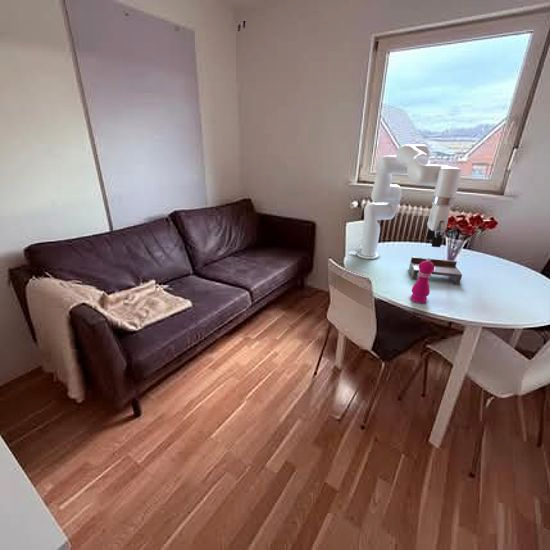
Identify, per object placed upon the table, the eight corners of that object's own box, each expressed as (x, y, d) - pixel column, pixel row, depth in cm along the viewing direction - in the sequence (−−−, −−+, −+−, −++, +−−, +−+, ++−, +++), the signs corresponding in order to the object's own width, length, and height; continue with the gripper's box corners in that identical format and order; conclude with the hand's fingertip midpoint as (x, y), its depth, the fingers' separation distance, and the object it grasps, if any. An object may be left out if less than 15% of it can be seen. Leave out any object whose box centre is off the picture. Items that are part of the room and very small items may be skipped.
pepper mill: (408, 300, 138) (417, 258, 129) (411, 294, 143) (421, 253, 135) (425, 305, 134) (436, 262, 126) (428, 298, 140) (439, 257, 131)
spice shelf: (412, 279, 158) (415, 265, 155) (408, 270, 169) (411, 256, 165) (459, 284, 154) (463, 270, 150) (452, 275, 164) (456, 261, 161)
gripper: (427, 196, 129) (419, 236, 136) (438, 204, 113) (427, 249, 120) (447, 197, 127) (437, 237, 134) (460, 206, 112) (448, 250, 119)
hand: (432, 243), depth 127 cm, fingers open, 9 cm apart
